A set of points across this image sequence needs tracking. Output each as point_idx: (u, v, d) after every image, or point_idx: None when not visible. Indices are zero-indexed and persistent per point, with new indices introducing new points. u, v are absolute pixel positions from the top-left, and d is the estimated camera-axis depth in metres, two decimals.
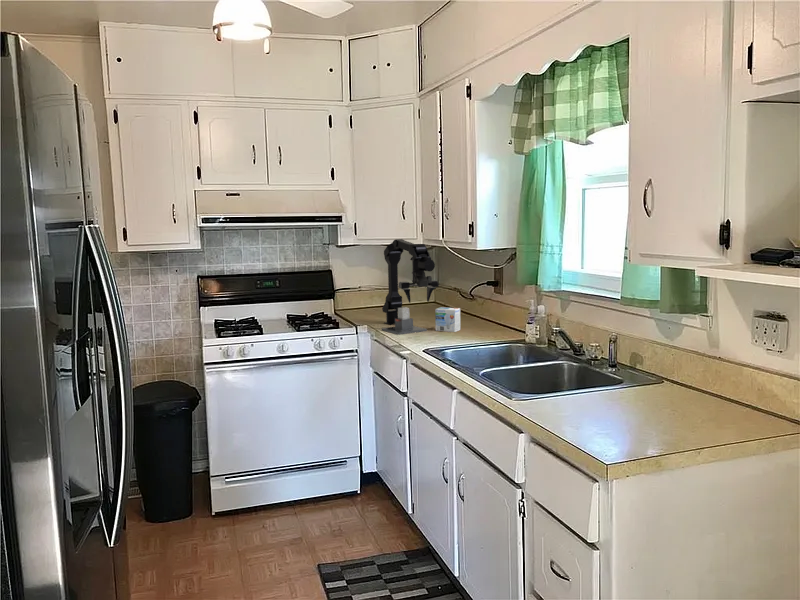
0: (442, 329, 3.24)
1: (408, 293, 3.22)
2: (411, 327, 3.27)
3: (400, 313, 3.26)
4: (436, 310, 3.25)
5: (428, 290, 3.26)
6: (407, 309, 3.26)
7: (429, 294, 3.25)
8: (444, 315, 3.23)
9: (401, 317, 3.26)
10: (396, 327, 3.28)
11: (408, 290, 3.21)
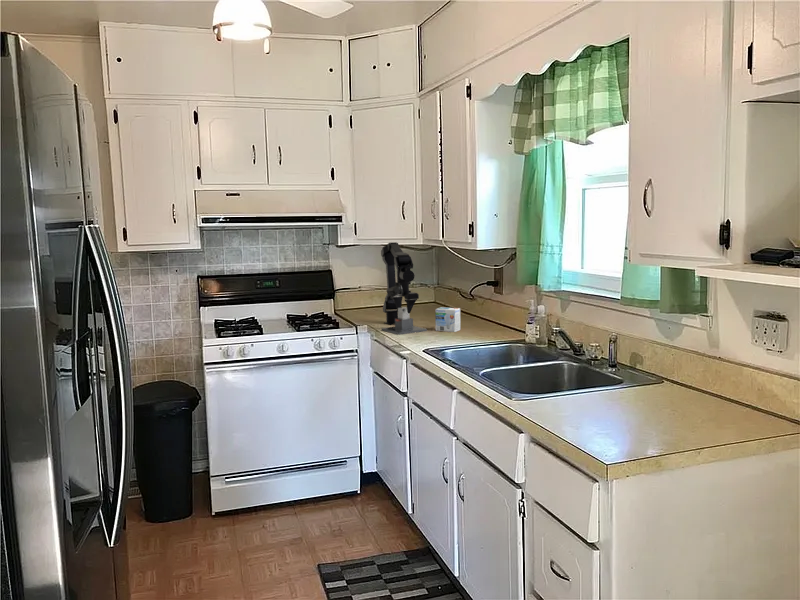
0: (442, 329, 3.24)
1: (394, 301, 3.31)
2: (411, 327, 3.27)
3: (400, 313, 3.26)
4: (436, 310, 3.25)
5: None
6: None
7: (407, 306, 3.22)
8: (444, 315, 3.23)
9: (401, 317, 3.26)
10: (396, 327, 3.28)
11: (392, 298, 3.30)
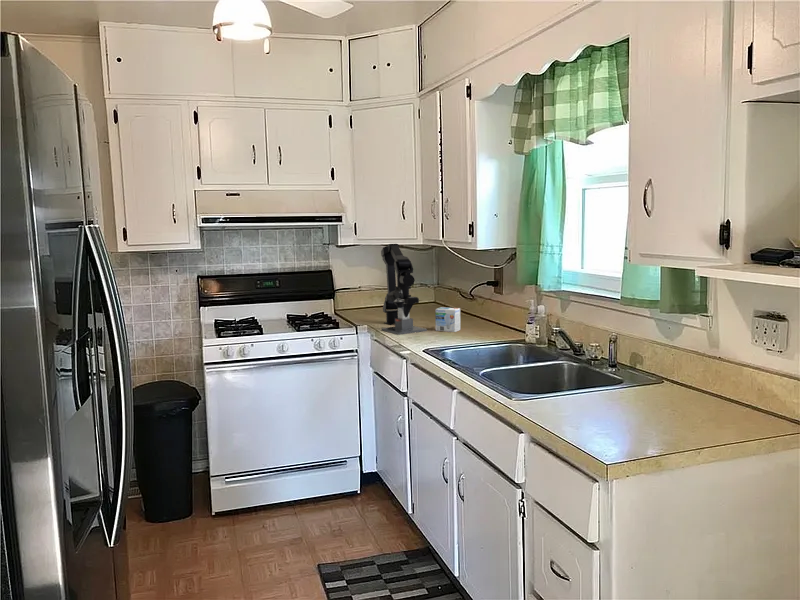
0: (442, 329, 3.24)
1: (397, 306, 3.29)
2: (411, 327, 3.27)
3: (400, 313, 3.26)
4: (436, 310, 3.25)
5: None
6: None
7: (404, 309, 3.24)
8: (444, 315, 3.23)
9: (401, 317, 3.26)
10: (396, 327, 3.28)
11: (395, 303, 3.28)
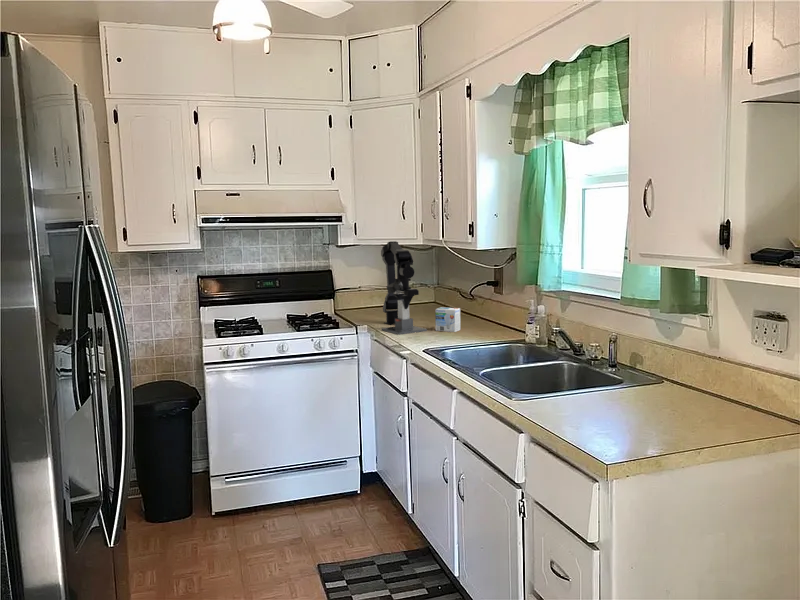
0: (442, 329, 3.24)
1: (397, 298, 3.28)
2: (411, 327, 3.27)
3: (400, 306, 3.25)
4: (436, 310, 3.25)
5: None
6: None
7: (404, 301, 3.24)
8: (444, 315, 3.23)
9: (401, 309, 3.25)
10: (396, 327, 3.28)
11: (395, 295, 3.28)
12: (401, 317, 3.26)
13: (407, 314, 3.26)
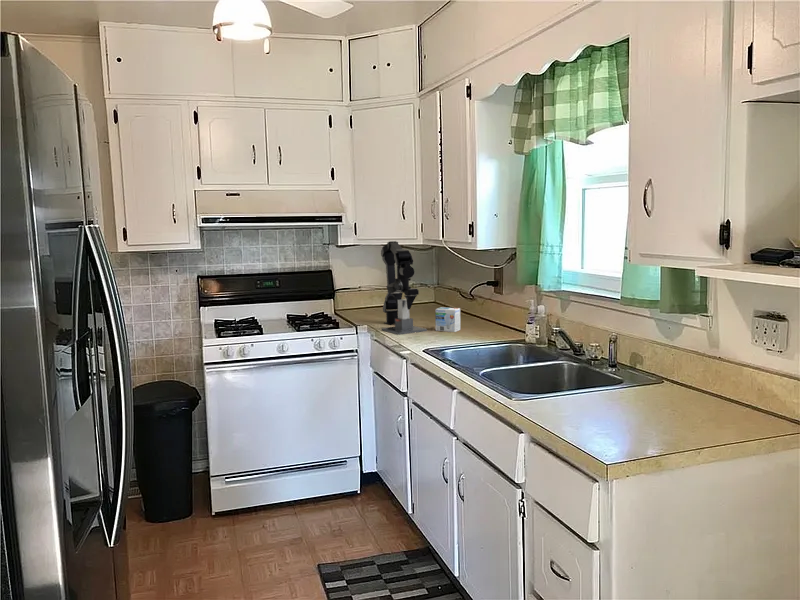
0: (442, 329, 3.24)
1: (394, 298, 3.30)
2: (411, 327, 3.27)
3: (400, 305, 3.25)
4: (436, 310, 3.25)
5: None
6: None
7: (407, 302, 3.22)
8: (444, 315, 3.23)
9: (401, 309, 3.25)
10: (396, 327, 3.28)
11: (392, 294, 3.30)
12: (401, 317, 3.26)
13: (407, 314, 3.26)
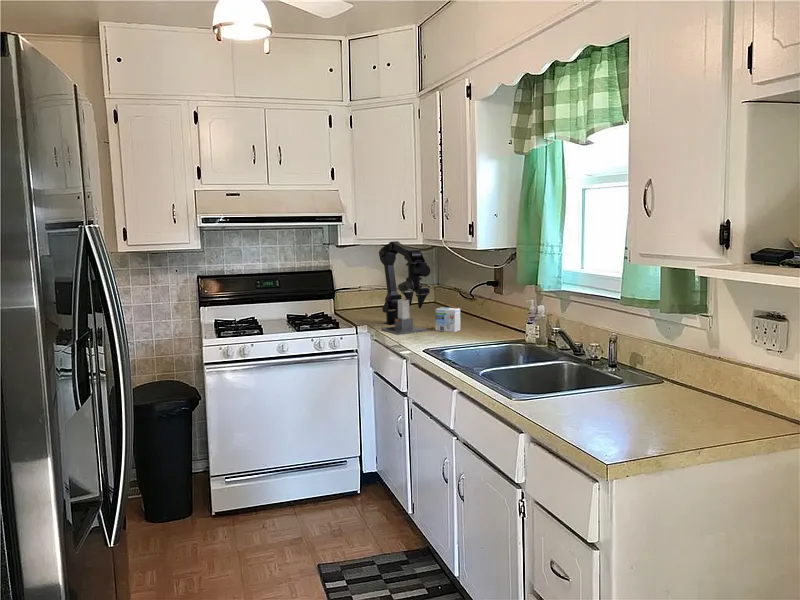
0: (442, 329, 3.24)
1: (405, 296, 3.34)
2: (411, 327, 3.27)
3: (400, 305, 3.25)
4: (436, 310, 3.25)
5: None
6: (407, 301, 3.25)
7: (418, 301, 3.25)
8: (444, 315, 3.23)
9: (401, 309, 3.25)
10: (396, 327, 3.28)
11: (403, 293, 3.33)
12: (401, 317, 3.26)
13: (407, 314, 3.26)
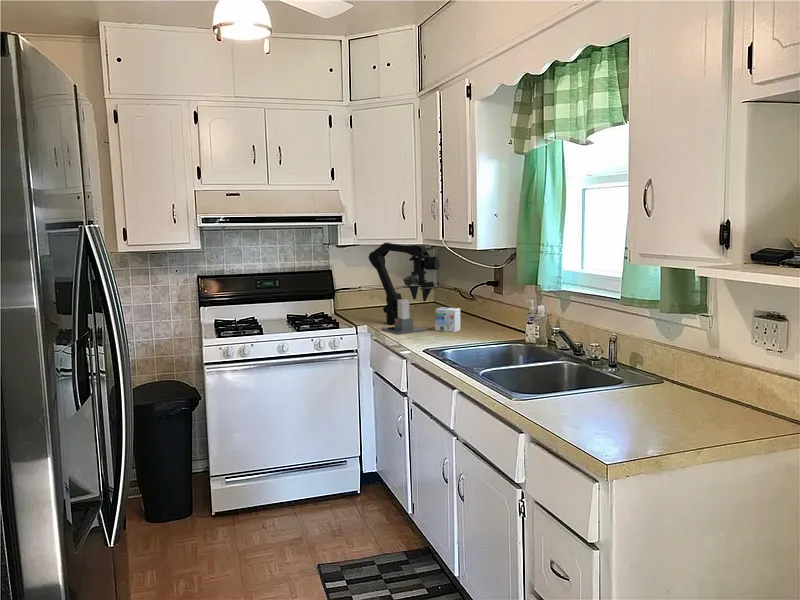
0: (442, 329, 3.24)
1: (411, 290, 3.44)
2: (411, 327, 3.27)
3: (400, 305, 3.25)
4: (436, 310, 3.25)
5: None
6: (407, 301, 3.25)
7: None
8: (444, 315, 3.23)
9: (401, 309, 3.25)
10: (396, 327, 3.28)
11: (409, 287, 3.44)
12: (401, 317, 3.26)
13: (407, 314, 3.26)
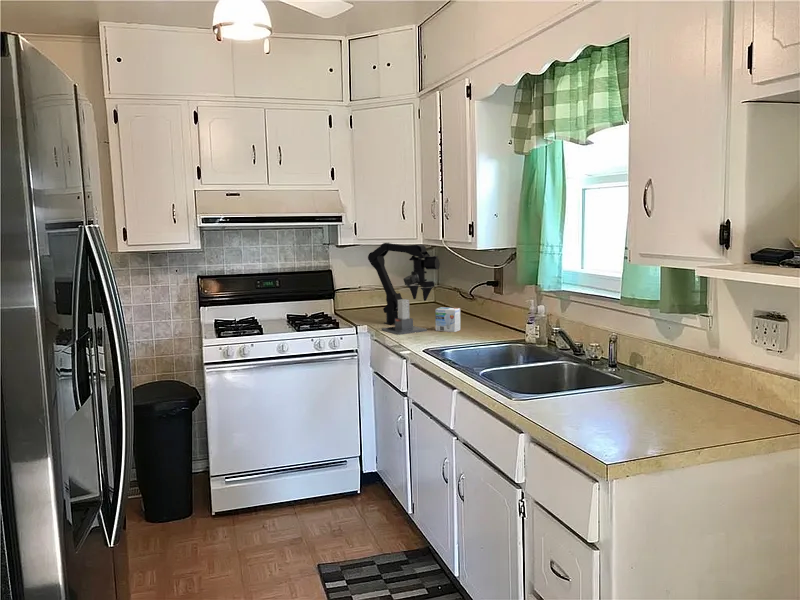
0: (442, 329, 3.24)
1: (411, 290, 3.45)
2: (411, 327, 3.27)
3: (400, 305, 3.25)
4: (436, 310, 3.25)
5: None
6: (407, 301, 3.25)
7: (423, 294, 3.36)
8: (444, 315, 3.23)
9: (401, 309, 3.25)
10: (396, 327, 3.28)
11: (409, 287, 3.44)
12: (401, 317, 3.26)
13: (407, 314, 3.26)
